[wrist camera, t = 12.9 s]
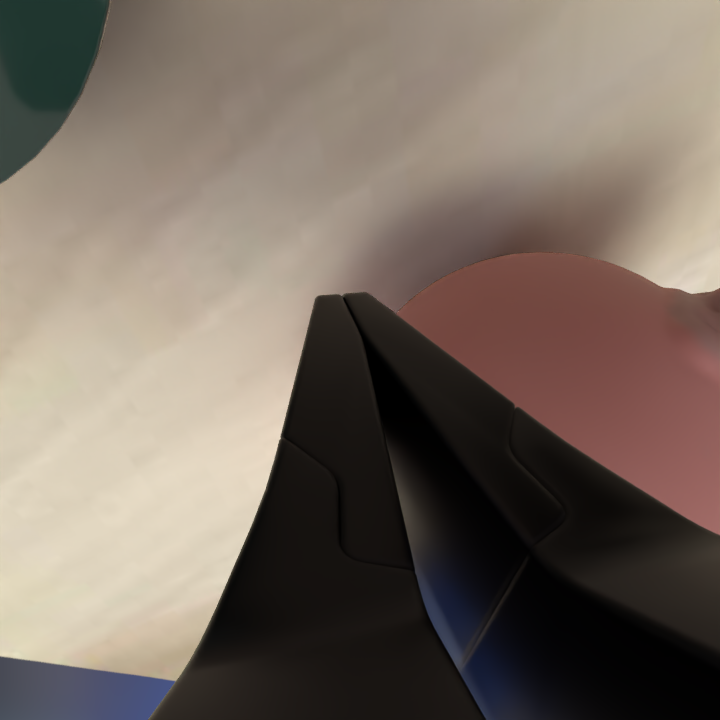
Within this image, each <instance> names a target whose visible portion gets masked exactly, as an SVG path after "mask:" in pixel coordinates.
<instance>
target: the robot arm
mask: <svg viewBox="0 0 720 720" xmlns="http://www.w3.org/2000/svg"><path fill="white" fill-rule="evenodd" d="M148 720H720V535H719V534H716V533H714V532H712V531H710V530H708V529H706V528H704V527H702V526H700V525H698V524H696V523H694V522H693V521H691V520H689V519H687V518H686V517H684V516H682V515H681V514H679V513H678V512H676V511H674V510H673V509H671V508H670V507H668V506H667V505H665V504H663V503H662V502H660V501H659V500H657V499H655V498H654V497H652V496H651V495H649V494H647V493H646V492H644V491H643V490H641V489H640V488H638V487H636V486H635V485H633V484H632V483H630V482H628V481H627V480H625V479H624V478H622V477H620V476H619V475H617V474H616V473H614V472H613V471H611V470H609V469H608V468H606V467H605V466H603V465H601V464H600V463H598V462H597V461H595V460H594V459H592V458H591V457H589V456H588V455H586V454H585V453H583V452H582V451H580V450H579V449H577V448H576V447H574V446H572V445H571V444H569V443H568V442H566V441H565V440H564V439H562V438H561V437H560V436H558V435H557V434H555V433H554V432H553V431H551V430H550V429H548V428H547V427H546V426H544V425H543V424H541V423H540V422H539V421H537V420H536V419H535V418H533V417H532V416H531V415H529V414H528V413H527V412H525V411H524V410H523V409H521V408H520V407H516V408H515V404H514V403H513V402H512V401H511V400H509V399H508V398H507V397H505V396H504V395H503V394H501V393H500V392H499V391H497V390H496V389H495V388H493V387H492V386H491V385H489V384H488V383H487V382H485V381H484V380H483V379H481V378H480V377H479V376H477V375H476V374H475V373H473V372H472V371H471V370H470V369H468V368H467V367H466V366H464V365H463V364H462V363H460V362H459V361H458V360H456V359H455V358H454V357H452V356H451V355H450V354H448V353H447V352H446V351H444V350H443V349H442V348H440V347H439V346H438V345H436V344H435V343H434V342H432V341H431V340H430V339H428V338H427V337H426V336H425V335H423V334H422V333H421V332H419V331H418V330H417V329H415V328H414V327H413V326H411V325H410V324H409V323H407V322H406V321H405V320H403V319H402V318H401V317H399V316H398V315H397V314H395V313H394V312H393V311H391V310H390V309H389V308H387V307H386V306H385V305H384V304H382V303H381V302H380V301H378V300H377V299H376V298H374V297H373V296H372V295H370V294H369V293H366V292H359V293H346V294H344V295H343V296H341V295H339V294H333V295H320V296H317V297H316V298H315V302H314V306H313V310H312V314H311V318H310V322H309V326H308V330H307V334H306V338H305V342H304V346H303V350H302V354H301V358H300V362H299V366H298V369H297V373H296V377H295V381H294V385H293V389H292V393H291V397H290V401H289V405H288V409H287V413H286V417H285V421H284V425H283V429H282V433H281V439H280V440H279V444H278V448H277V452H276V456H275V460H274V463H273V466H272V470H271V473H270V476H269V480H268V483H267V486H266V490H265V492H264V495H263V498H262V500H261V503H260V505H259V508H258V511H257V513H256V516H255V518H254V521H253V524H252V526H251V528H250V531H249V533H248V535H247V538H246V540H245V542H244V545H243V547H242V549H241V552H240V554H239V556H238V558H237V561H236V563H235V565H234V568H233V570H232V572H231V575H230V577H229V579H228V582H227V584H226V586H225V589H224V591H223V593H222V596H221V598H220V600H219V603H218V605H217V607H216V609H215V612H214V614H213V616H212V618H211V620H210V622H209V624H208V627H207V629H206V631H205V633H204V635H203V637H202V639H201V641H200V643H199V645H198V646H197V648H196V650H195V652H194V654H193V656H192V657H191V659H190V661H189V662H188V664H187V666H186V667H185V669H184V671H183V672H182V674H181V675H180V677H179V678H178V679H177V681H176V682H175V683H174V685H173V686H172V687H171V689H170V690H169V692H168V693H167V694H166V696H165V697H164V699H163V700H162V701H161V703H160V704H159V705H158V707H157V708H156V709H155V711H154V712H153V713H152V715H151V716H150V718H149V719H148Z"/></svg>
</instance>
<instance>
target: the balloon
mask: <svg viewBox="0 0 720 720" xmlns="http://www.w3.org/2000/svg"><path fill="white" fill-rule="evenodd" d="M396 314H397V315H398V316H399V317H401V318H402V319H403V320H405V321H406V322H407V323H409V324H410V325H411V326H413V327H414V328H415V329H417V330H418V331H419V332H421V333H422V334H423V335H425V336H426V337H427V338H428V339H430V340H431V341H432V342H434V343H435V344H436V345H438V346H439V347H440V348H442V349H443V350H444V351H446V352H447V353H448V354H450V355H451V356H452V357H454V358H455V359H456V360H458V361H459V362H460V363H462V364H463V365H464V366H466V367H467V368H468V369H470V370H471V371H472V372H473V373H475V374H476V375H477V376H479V377H480V378H481V379H483V380H484V381H485V382H487V383H488V384H489V385H491V386H492V387H493V388H495V389H496V390H497V391H499V392H500V393H501V394H503V395H504V396H505V397H507V398H508V399H509V400H511V401H512V402H513V403H514V404H515V408H516V407H520V408H521V409H523V410H524V411H525V412H527V413H528V414H529V415H531V416H532V417H533V418H535V419H536V420H537V421H539V422H540V423H541V424H543V425H544V426H546V427H547V428H548V429H550V430H551V431H553V432H554V433H555V434H557V435H558V436H560V437H561V438H562V439H564V440H565V441H566V442H568V443H569V444H571V445H572V446H574V447H576V448H577V449H579V450H580V451H582V452H583V453H585V454H586V455H588V456H589V457H591V458H592V459H594V460H595V461H597V462H598V463H600V464H601V465H603V466H605V467H606V468H608V469H609V470H611V471H613V472H614V473H616V474H617V475H619V476H620V477H622V478H624V479H625V480H627V481H628V482H630V483H632V484H633V485H635V486H636V487H638V488H640V489H641V490H643V491H644V492H646V493H647V494H649V495H651V496H652V497H654V498H655V499H657V500H659V501H660V502H662V503H663V504H665V505H667V506H668V507H670V508H671V509H673V510H674V511H676V512H678V513H679V514H681V515H682V516H684V517H686V518H687V519H689V520H691V521H693V522H694V523H696V524H698V525H700V526H702V527H704V528H706V529H708V530H710V531H712V532H714V533H716V534H719V535H720V288H719V289H717V290H715V291H713V292H705V293H697V294H690V293H687V292H684V291H682V290H679V289H674V288H664V287H660V286H658V285H656V284H655V283H653V282H651V281H650V280H648V279H646V278H644V277H642V276H640V275H638V274H636V273H634V272H632V271H629V270H627V269H625V268H622V267H619V266H617V265H614V264H611V263H608V262H605V261H602V260H598V259H594V258H590V257H585V256H579V255H573V254H565V253H553V252H530V253H518V254H511V255H505V256H499V257H495V258H491V259H487V260H483V261H480V262H477V263H474V264H471V265H469V266H466V267H464V268H461V269H459V270H457V271H455V272H452V273H450V274H448V275H446V276H445V277H443V278H441V279H439V280H438V281H436V282H434V283H433V284H431V285H430V286H428V287H427V288H425V289H424V290H422V291H421V292H420V293H418V294H417V295H416V296H415V297H413V298H412V299H411V300H410V301H409V302H408V303H406V304H405V305H404V306H403V307H402V308H401V309H400V310H399V311H398V312H397V313H396Z"/></svg>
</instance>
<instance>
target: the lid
mask: <svg viewBox="0 0 720 720" xmlns="http://www.w3.org/2000/svg"><path fill="white" fill-rule="evenodd" d="M111 3H112V0H0V184H1V183H3V182H5V181H7V180H8V179H9V178H10V177H12V176H13V175H14V174H15V173H17V172H18V171H19V170H20V169H22V168H23V167H24V166H25V165H27V164H28V163H29V162H30V161H32V160H33V159H34V158H35V157H36V156H37V155H38V154H39V153H40V152H41V151H42V149H43V148H44V147H45V146H46V145H47V144H48V143H49V142H50V140H51V139H52V138H53V137H54V136H55V135H56V134H57V132H58V131H59V130H60V129H61V128H62V126H63V124H64V123H65V121H66V120H67V118H68V116H69V115H70V113H71V111H72V110H73V108H74V107H75V105H76V103H77V102H78V100H79V98H80V97H81V95H82V93H83V91H84V88H85V86H86V83H87V81H88V78H89V76H90V73H91V71H92V68H93V66H94V64H95V61H96V59H97V56H98V54H99V51H100V49H101V45H102V41H103V37H104V32H105V28H106V24H107V20H108V16H109V11H110V7H111Z"/></svg>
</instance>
